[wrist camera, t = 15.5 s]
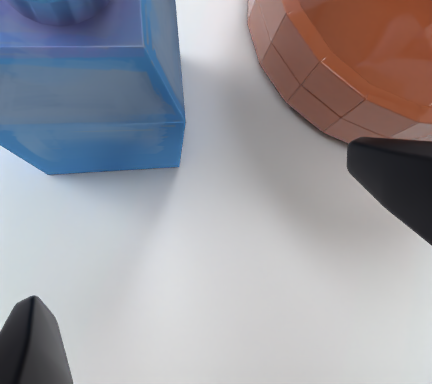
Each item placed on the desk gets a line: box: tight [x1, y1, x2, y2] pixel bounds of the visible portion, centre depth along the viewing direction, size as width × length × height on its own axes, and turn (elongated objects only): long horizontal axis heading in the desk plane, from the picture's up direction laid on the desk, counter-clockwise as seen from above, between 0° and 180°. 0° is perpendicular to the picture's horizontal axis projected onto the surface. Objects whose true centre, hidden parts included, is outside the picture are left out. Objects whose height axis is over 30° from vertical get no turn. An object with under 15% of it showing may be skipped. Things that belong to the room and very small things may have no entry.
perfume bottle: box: [0, 0, 186, 175], centre depth 11 cm, size 6×6×12 cm
